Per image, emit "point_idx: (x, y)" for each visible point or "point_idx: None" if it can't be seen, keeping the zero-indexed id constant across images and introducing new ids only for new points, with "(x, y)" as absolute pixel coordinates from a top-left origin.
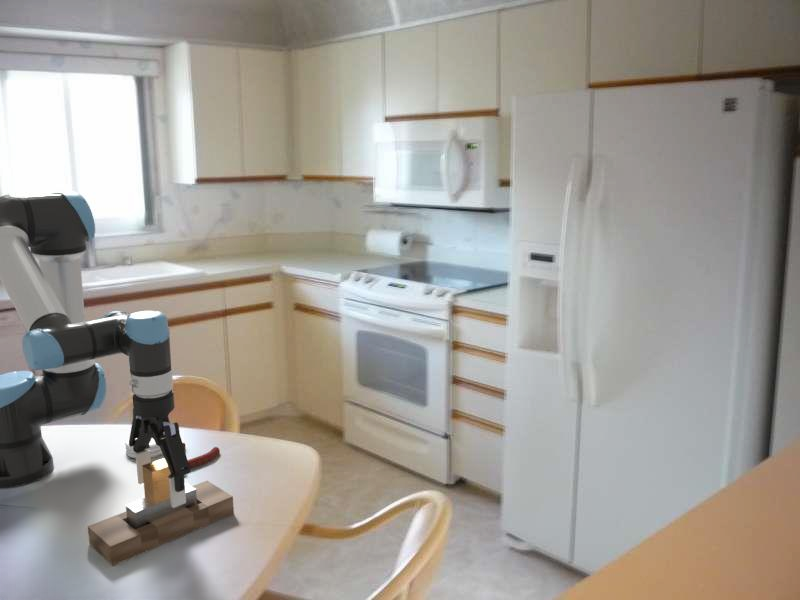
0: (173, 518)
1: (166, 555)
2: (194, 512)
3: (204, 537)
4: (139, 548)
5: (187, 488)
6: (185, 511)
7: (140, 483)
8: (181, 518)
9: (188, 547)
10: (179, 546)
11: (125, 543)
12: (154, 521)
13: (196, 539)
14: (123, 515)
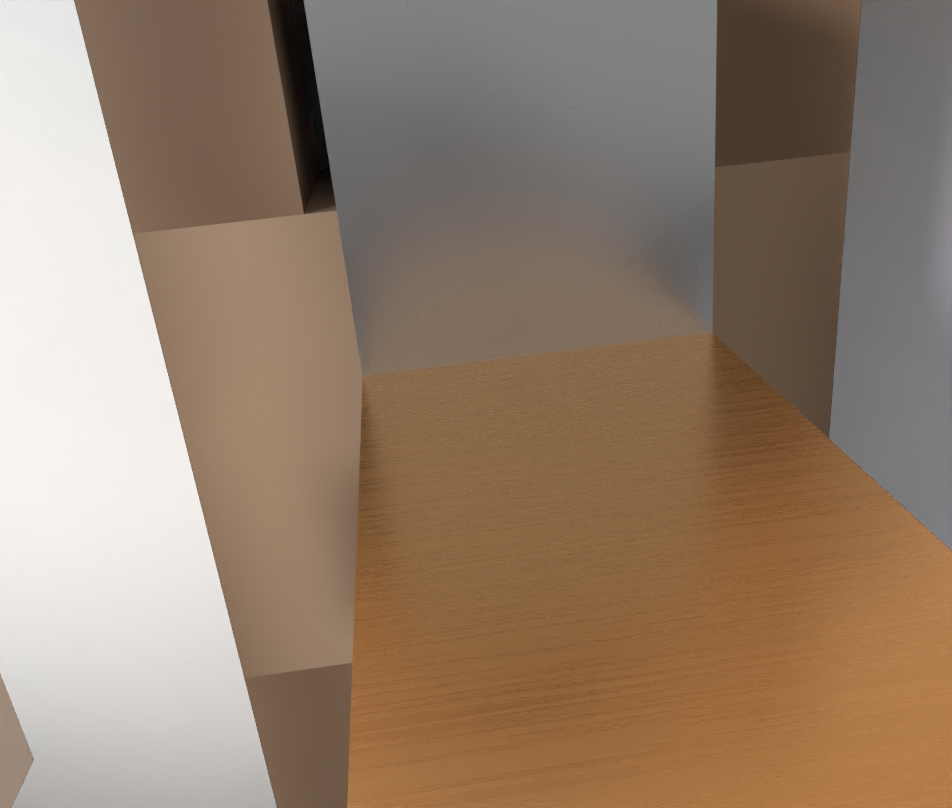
0: None
1: (902, 483)
2: (847, 127)
3: (928, 92)
4: None
5: (566, 77)
6: (745, 221)
7: (29, 759)
8: (833, 319)
9: (949, 295)
10: (871, 352)
11: None
12: None
13: (895, 176)
14: (332, 779)
